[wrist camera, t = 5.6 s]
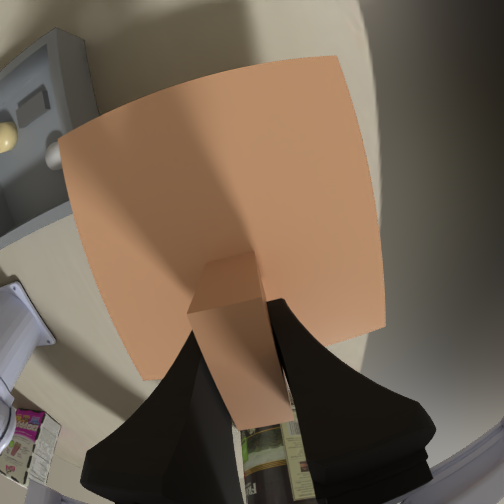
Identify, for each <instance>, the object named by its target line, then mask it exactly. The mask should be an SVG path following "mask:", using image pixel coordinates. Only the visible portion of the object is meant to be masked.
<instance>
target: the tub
mask: <svg viewBox="0 0 504 504" xmlns="http://www.w3.org/2000/svg"><path fill="white" fill-rule="evenodd" d="M97 117H99V112H98V108H97V104H96V100H95V96H94V91H93V87H92V82H91V77H90V72H89V67H88V62H87V56H86V50H85V44H84V40H83V39H81V38H79V37H77V36H74V35H72V34H70V33H68V32H66V31H63V30H61V29H59V28H56V27H55V28H54V29H53V30H51V31H50V32H48V33H47V34H45V35H44V36H42V37H41V38H40V39H38V40H37V41H36V42H34V43H33V44H32V45H30V46H29V47H28V48H27V49H25V50H24V51H23V52H22V53H20V54H19V55H18V56H17V57H16V58H14V59H13V60H12V61H11V62H10V63H9V64H8V65H7V66H5V67H4V68H3V69H2V70H1V71H0V249H2V248H4V247H6V246H8V245H9V244H11V243H13V242H15V241H17V240H19V239H21V238H23V237H24V236H26V235H28V234H30V233H32V232H34V231H36V230H38V229H40V228H42V227H44V226H47V225H49V224H51V223H53V222H55V221H57V220H59V219H61V218H64V217H66V216H68V215H70V214H73V211H72V208H71V204H70V200H69V196H68V191H67V187H66V183H65V178H64V173H63V168H62V163H61V157H60V151H59V145H58V138H60V137H62V136H63V135H65V134H67V133H69V132H70V131H72V130H74V129H76V128H78V127H79V126H81V125H83V124H85V123H87V122H89V121H91V120H93V119H95V118H97Z"/></svg>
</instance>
